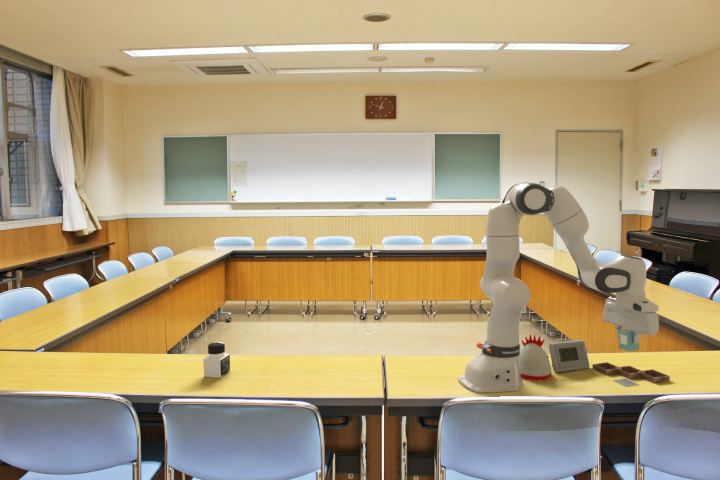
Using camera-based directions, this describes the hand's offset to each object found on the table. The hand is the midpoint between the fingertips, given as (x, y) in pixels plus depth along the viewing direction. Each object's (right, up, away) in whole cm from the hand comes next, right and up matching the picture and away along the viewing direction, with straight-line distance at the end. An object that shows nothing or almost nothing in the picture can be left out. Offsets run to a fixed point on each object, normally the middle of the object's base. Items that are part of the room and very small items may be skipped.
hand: (628, 340), depth 164 cm
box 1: (-1, -15, +13) cm, 19 cm away
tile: (0, -16, +1) cm, 16 cm away
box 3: (+12, -15, +5) cm, 20 cm away
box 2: (+6, -15, +9) cm, 18 cm away
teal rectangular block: (0, -3, 0) cm, 3 cm away
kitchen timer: (-30, -15, +12) cm, 35 cm away
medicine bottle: (-148, -16, +12) cm, 149 cm away
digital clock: (-14, -15, +16) cm, 26 cm away
